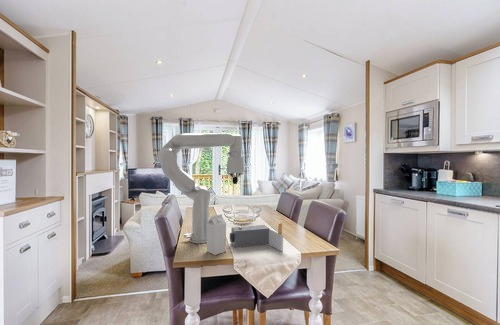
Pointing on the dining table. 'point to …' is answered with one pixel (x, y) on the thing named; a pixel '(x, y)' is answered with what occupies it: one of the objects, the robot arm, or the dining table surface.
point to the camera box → (249, 236)
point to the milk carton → (216, 235)
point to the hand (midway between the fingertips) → (235, 183)
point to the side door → (276, 238)
